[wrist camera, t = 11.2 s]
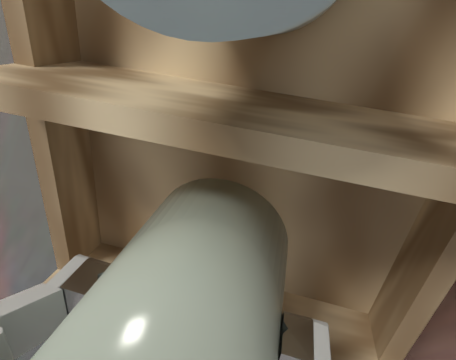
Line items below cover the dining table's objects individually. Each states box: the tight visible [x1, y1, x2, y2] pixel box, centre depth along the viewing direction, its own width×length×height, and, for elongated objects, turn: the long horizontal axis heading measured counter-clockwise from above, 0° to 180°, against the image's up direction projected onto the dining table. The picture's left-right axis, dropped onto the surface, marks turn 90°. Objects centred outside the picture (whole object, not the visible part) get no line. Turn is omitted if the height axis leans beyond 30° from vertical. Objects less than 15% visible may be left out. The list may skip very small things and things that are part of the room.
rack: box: [0, 0, 456, 360], centre depth 12 cm, size 20×25×7 cm
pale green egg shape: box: [30, 178, 288, 360], centre depth 10 cm, size 6×6×9 cm
